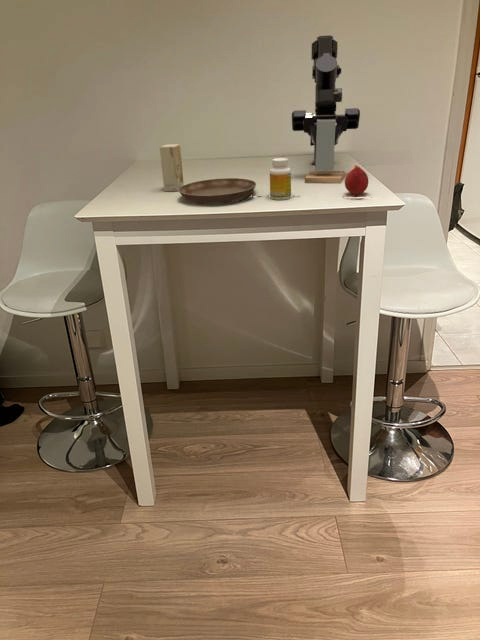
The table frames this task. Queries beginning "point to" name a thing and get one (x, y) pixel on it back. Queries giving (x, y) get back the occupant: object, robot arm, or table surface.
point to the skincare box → (171, 167)
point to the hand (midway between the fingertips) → (325, 144)
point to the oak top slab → (324, 177)
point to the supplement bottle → (280, 179)
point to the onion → (356, 181)
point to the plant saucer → (217, 190)
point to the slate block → (325, 144)
